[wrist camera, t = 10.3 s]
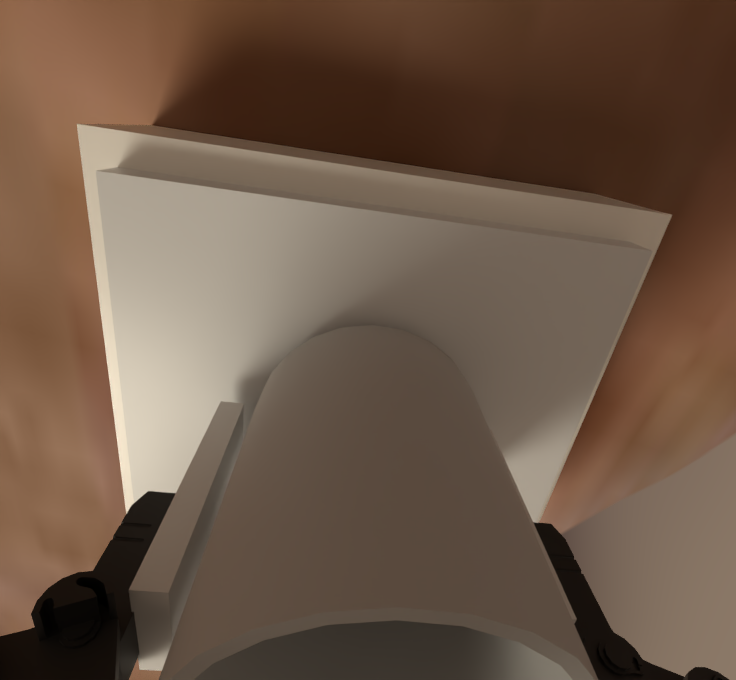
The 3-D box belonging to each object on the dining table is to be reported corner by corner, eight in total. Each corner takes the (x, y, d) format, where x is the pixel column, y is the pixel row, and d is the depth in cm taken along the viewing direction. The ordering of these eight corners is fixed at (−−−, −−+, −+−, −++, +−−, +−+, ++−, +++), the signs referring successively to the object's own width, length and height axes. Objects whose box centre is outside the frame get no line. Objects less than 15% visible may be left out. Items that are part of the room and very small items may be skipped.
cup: (512, 419, 15) (686, 747, 7) (308, 554, 18) (270, 898, 10) (376, 271, 13) (410, 520, 5) (163, 453, 16) (-41, 804, 8)
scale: (151, 125, 17) (50, 123, 11) (594, 193, 18) (699, 222, 13) (173, 492, 25) (121, 597, 19) (480, 518, 26) (514, 622, 21)
